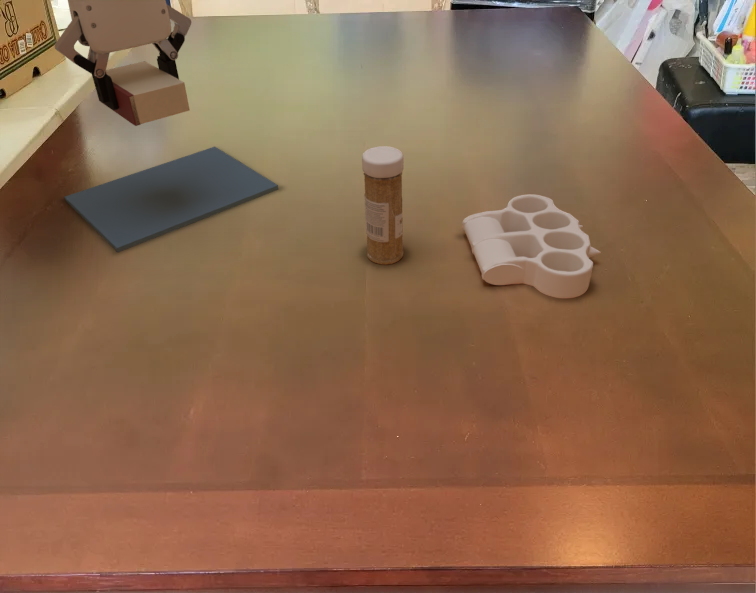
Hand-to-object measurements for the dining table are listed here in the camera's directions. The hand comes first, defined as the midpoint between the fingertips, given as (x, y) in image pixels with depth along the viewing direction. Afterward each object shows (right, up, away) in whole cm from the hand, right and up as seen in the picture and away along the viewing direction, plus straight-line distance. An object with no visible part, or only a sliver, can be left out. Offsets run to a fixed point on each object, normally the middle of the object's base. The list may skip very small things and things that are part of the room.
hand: (141, 97), depth 81 cm
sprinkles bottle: (+30, -20, -1) cm, 36 cm away
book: (0, -1, +1) cm, 1 cm away
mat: (0, -10, +12) cm, 16 cm away
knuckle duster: (+48, -20, -2) cm, 52 cm away
